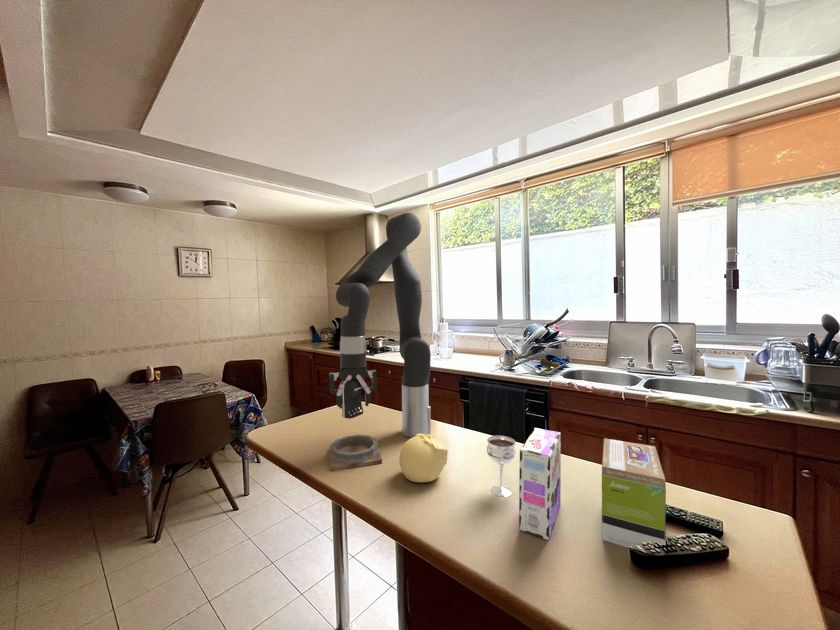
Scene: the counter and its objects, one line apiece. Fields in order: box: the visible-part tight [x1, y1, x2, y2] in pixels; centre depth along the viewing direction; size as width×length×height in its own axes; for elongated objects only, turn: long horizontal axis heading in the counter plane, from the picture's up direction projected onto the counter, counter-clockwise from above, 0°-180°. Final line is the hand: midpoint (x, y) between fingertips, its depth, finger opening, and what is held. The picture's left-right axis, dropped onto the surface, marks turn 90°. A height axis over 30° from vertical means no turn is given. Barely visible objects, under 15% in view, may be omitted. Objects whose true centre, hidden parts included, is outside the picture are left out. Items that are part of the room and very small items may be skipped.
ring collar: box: [329, 434, 383, 471], centre depth 97 cm, size 14×14×4 cm
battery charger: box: [341, 379, 366, 420], centre depth 97 cm, size 7×4×11 cm, turn 147°
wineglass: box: [486, 435, 517, 497], centre depth 78 cm, size 7×7×12 cm
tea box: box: [601, 437, 667, 549], centre depth 65 cm, size 15×10×15 cm, turn 150°
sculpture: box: [398, 433, 449, 483], centre depth 85 cm, size 11×12×11 cm
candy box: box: [518, 427, 562, 541], centre depth 69 cm, size 14×6×16 cm, turn 148°
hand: (353, 406), depth 97 cm, fingers closed on battery charger, 7 cm apart
